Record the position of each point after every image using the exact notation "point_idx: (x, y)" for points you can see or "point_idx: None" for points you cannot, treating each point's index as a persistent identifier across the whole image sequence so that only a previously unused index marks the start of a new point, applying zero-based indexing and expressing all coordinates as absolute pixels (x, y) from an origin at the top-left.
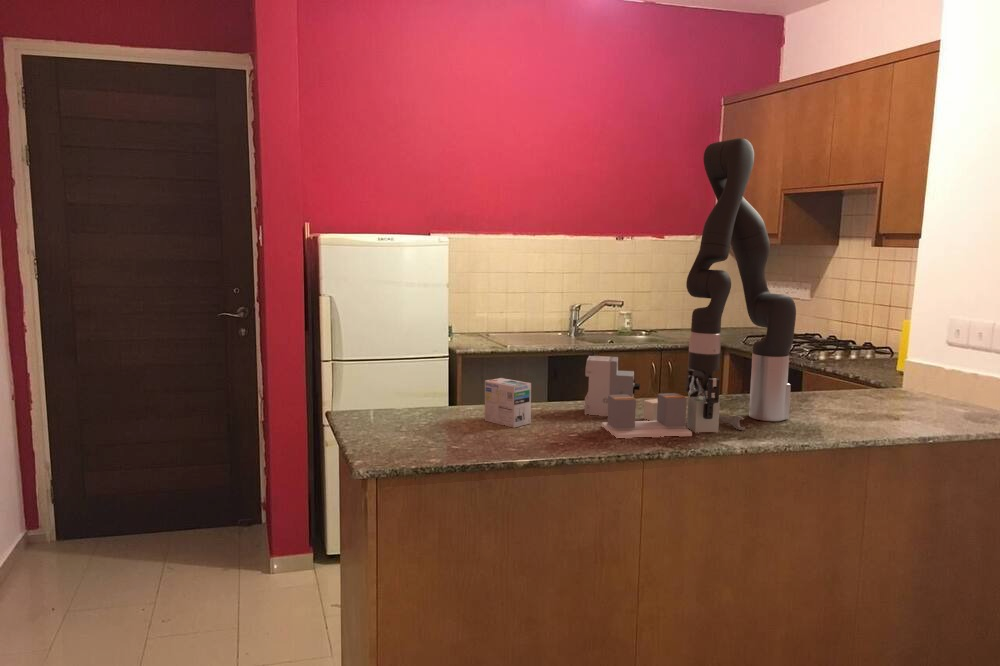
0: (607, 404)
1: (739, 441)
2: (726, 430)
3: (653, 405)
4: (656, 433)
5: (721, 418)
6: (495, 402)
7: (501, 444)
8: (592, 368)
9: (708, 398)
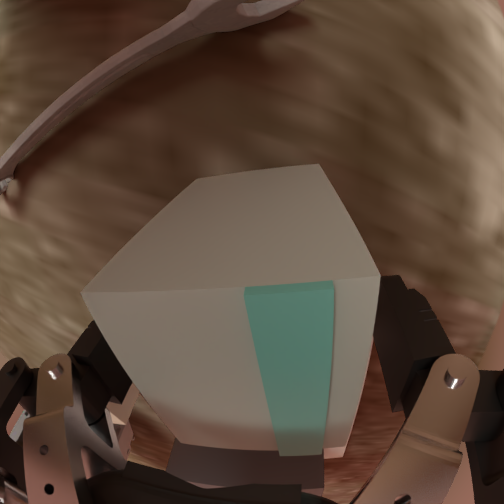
0: (119, 444)
1: (486, 136)
2: (270, 94)
3: (127, 417)
4: (355, 413)
5: (93, 92)
6: None
7: (330, 495)
8: None
9: (486, 443)
